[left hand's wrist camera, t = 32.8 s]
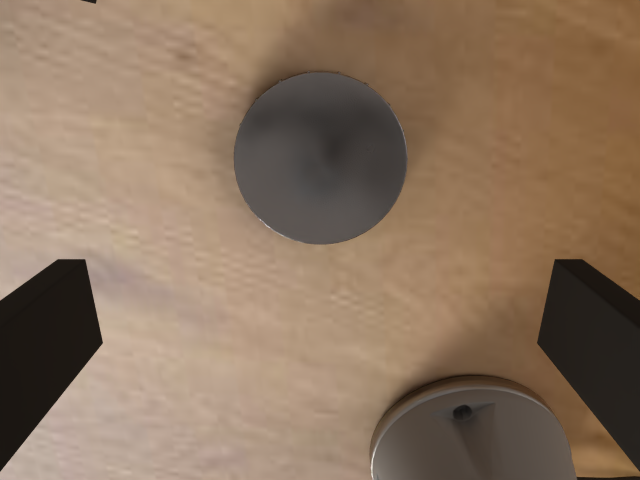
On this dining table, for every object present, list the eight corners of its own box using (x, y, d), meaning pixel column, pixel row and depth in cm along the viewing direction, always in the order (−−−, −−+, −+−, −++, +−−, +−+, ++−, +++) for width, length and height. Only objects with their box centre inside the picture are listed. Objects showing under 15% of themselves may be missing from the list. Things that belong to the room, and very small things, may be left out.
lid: (250, 52, 24) (245, 51, 23) (424, 90, 25) (431, 92, 24) (228, 218, 28) (222, 228, 27) (380, 247, 29) (383, 258, 27)
